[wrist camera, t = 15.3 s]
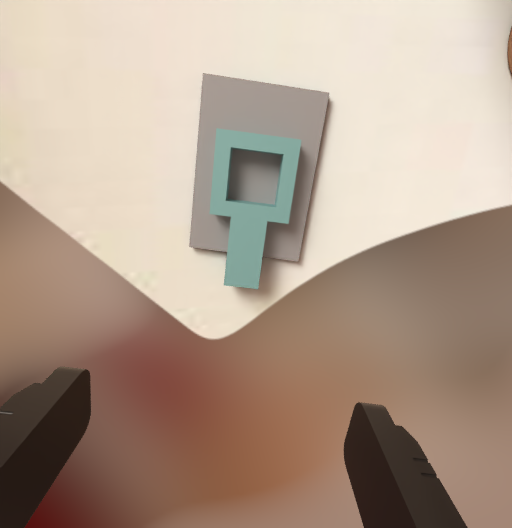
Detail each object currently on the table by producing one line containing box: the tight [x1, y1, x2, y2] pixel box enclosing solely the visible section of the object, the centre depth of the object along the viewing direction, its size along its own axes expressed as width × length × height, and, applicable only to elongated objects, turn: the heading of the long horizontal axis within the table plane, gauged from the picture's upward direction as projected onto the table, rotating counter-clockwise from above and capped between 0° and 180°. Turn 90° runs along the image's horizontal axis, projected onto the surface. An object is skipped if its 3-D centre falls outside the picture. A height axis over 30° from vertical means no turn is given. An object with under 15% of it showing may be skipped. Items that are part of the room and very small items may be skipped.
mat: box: [189, 73, 329, 261], centre depth 27 cm, size 14×10×1 cm
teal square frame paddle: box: [209, 128, 301, 289], centre depth 27 cm, size 12×6×2 cm, turn 173°
